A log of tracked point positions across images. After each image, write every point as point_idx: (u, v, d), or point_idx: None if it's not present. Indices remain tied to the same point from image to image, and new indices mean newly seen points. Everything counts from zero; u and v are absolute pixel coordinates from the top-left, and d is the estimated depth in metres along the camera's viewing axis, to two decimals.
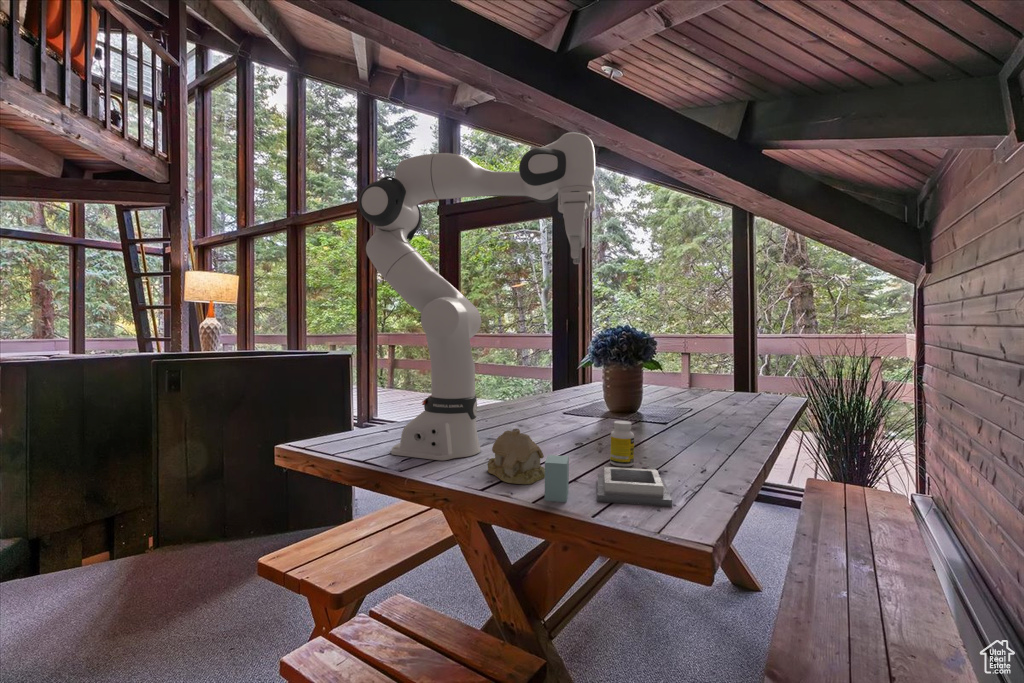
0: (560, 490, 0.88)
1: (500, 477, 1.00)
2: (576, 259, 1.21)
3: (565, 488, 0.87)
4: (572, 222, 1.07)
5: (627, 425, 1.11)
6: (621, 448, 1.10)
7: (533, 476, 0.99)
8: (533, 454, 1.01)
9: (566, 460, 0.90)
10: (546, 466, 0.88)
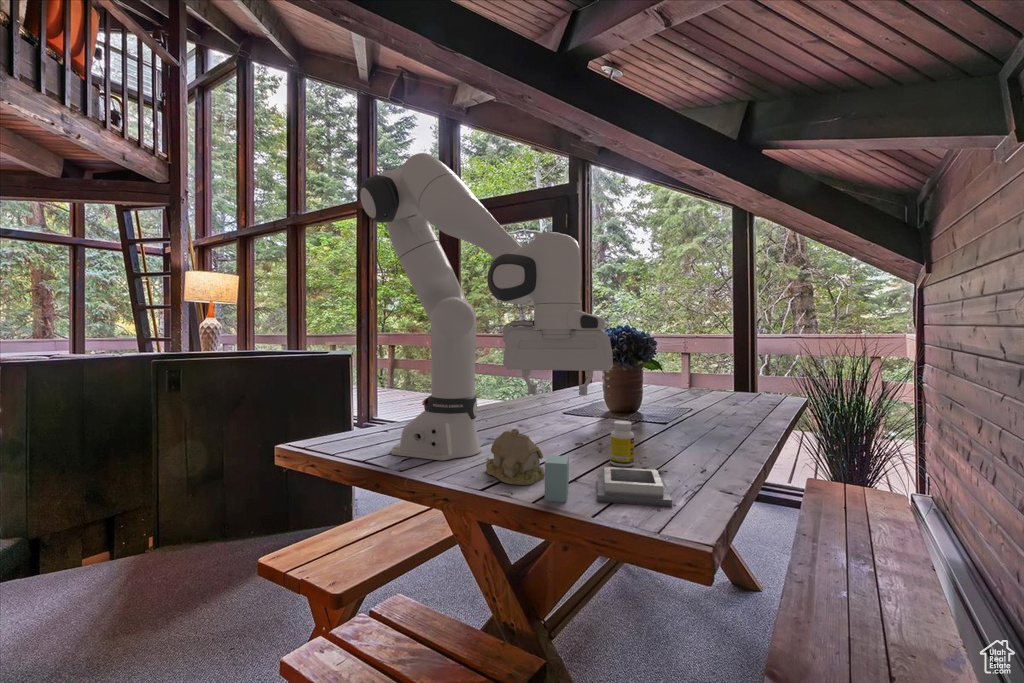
0: (560, 490, 0.88)
1: (499, 478, 0.99)
2: (536, 389, 0.91)
3: (565, 488, 0.87)
4: None
5: (627, 425, 1.11)
6: (621, 448, 1.10)
7: (533, 477, 0.98)
8: (532, 454, 1.01)
9: (566, 460, 0.90)
10: (546, 466, 0.88)
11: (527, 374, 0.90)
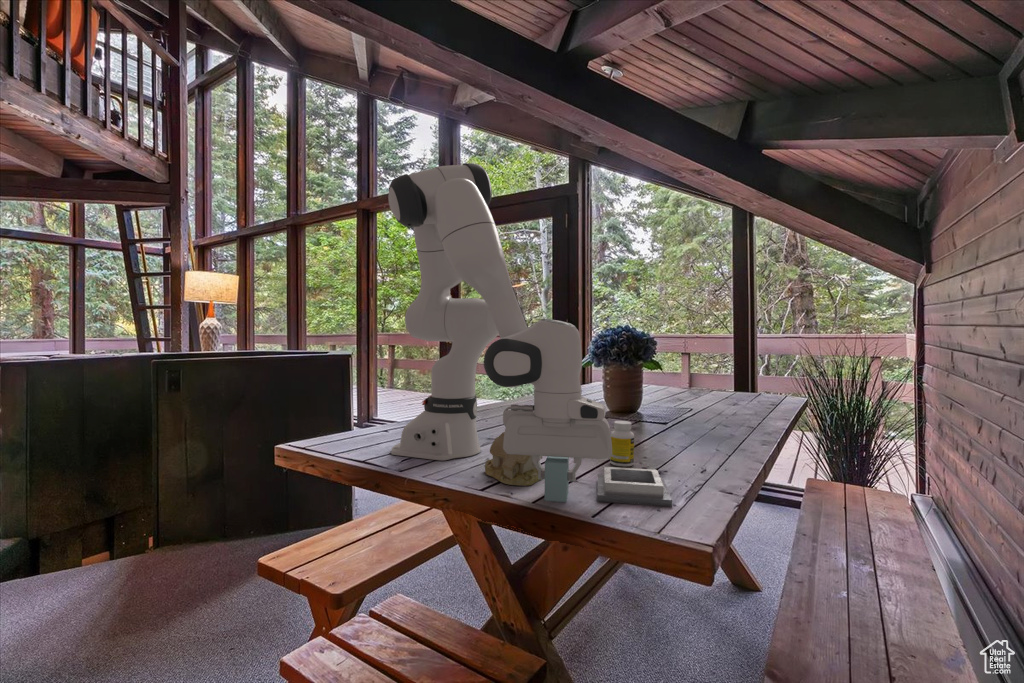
0: (560, 490, 0.88)
1: (499, 479, 0.99)
2: None
3: (565, 488, 0.87)
4: None
5: (627, 425, 1.11)
6: (621, 448, 1.10)
7: (533, 477, 0.98)
8: None
9: (566, 460, 0.90)
10: (546, 466, 0.88)
11: (537, 460, 0.90)
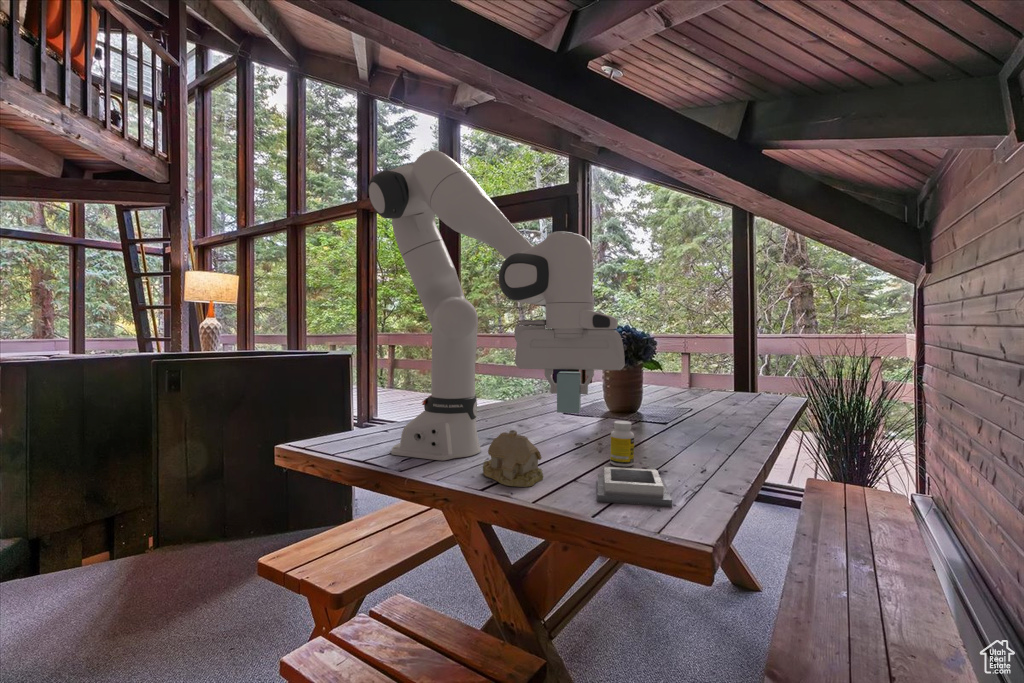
0: (572, 401, 0.87)
1: (499, 480, 0.98)
2: None
3: (577, 399, 0.87)
4: None
5: (627, 425, 1.11)
6: (621, 448, 1.10)
7: (533, 478, 0.97)
8: (532, 456, 1.00)
9: (578, 373, 0.89)
10: (558, 378, 0.88)
11: (549, 373, 0.90)
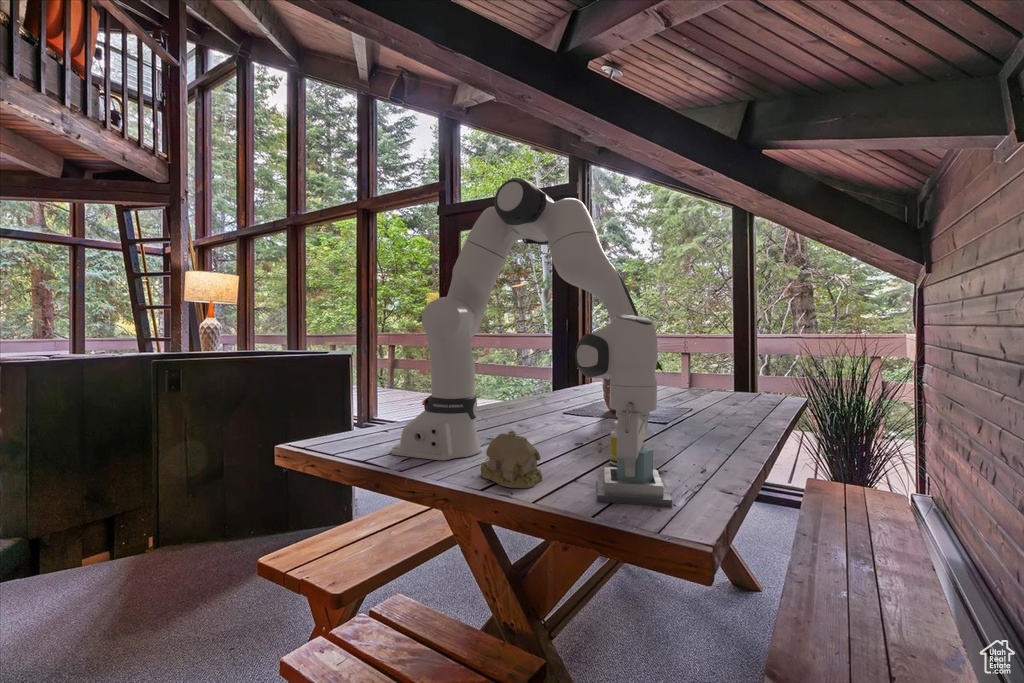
0: (650, 476, 0.91)
1: (499, 482, 0.97)
2: None
3: (652, 472, 0.92)
4: None
5: None
6: None
7: (533, 479, 0.97)
8: (531, 457, 0.99)
9: (641, 447, 0.93)
10: (644, 456, 0.89)
11: None
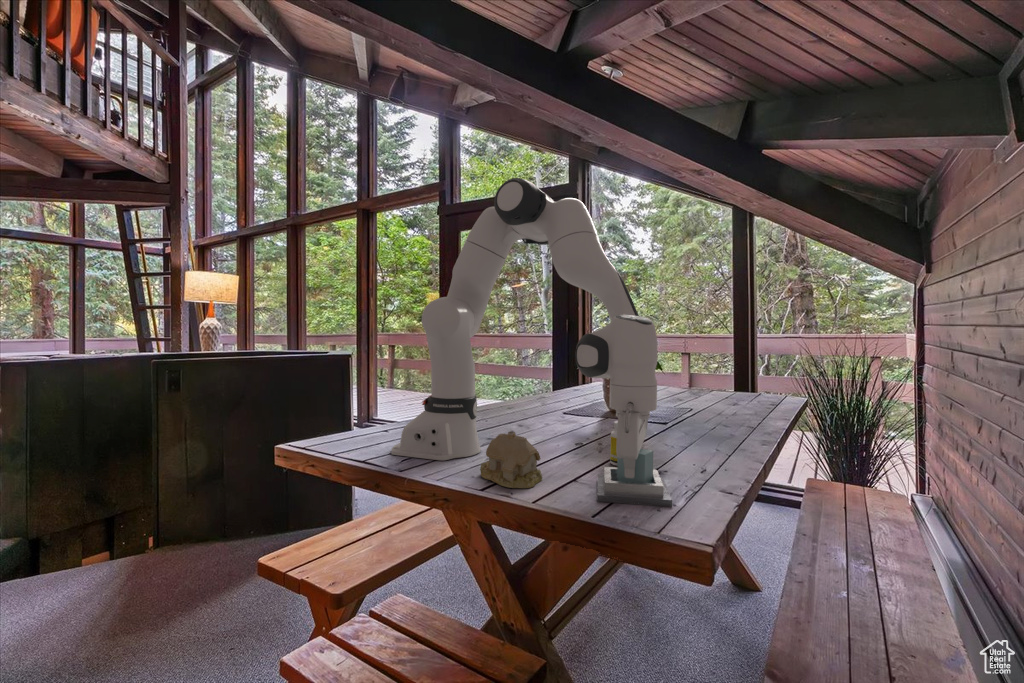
0: (650, 477, 0.91)
1: (499, 482, 0.96)
2: None
3: (652, 474, 0.92)
4: None
5: None
6: None
7: (533, 479, 0.96)
8: (531, 457, 0.99)
9: (641, 449, 0.93)
10: (645, 458, 0.89)
11: None
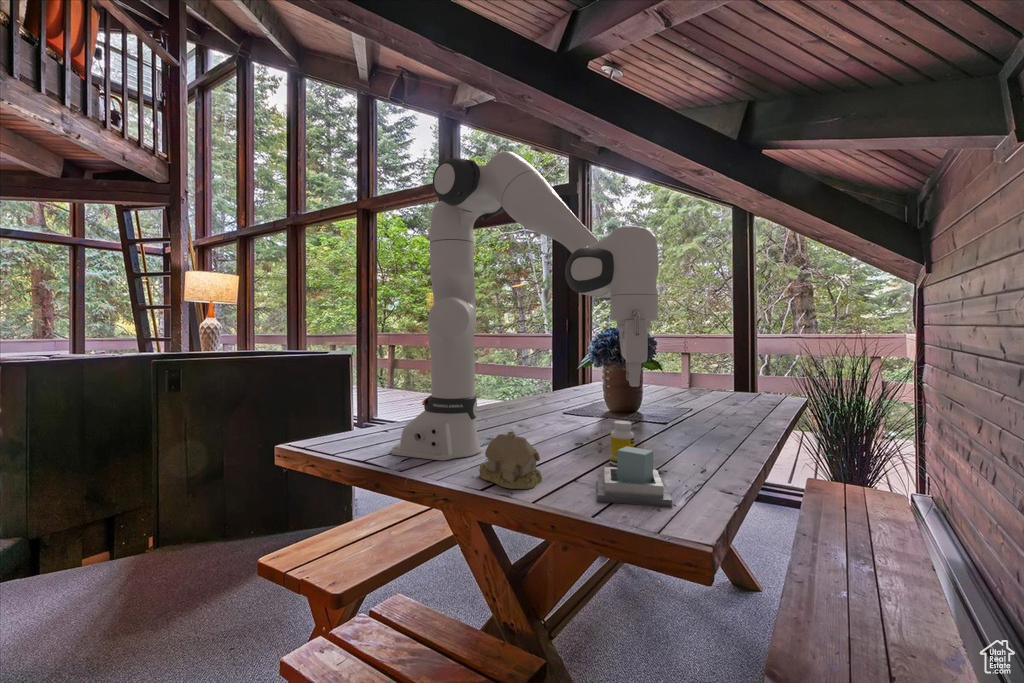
0: (650, 477, 0.91)
1: (499, 483, 0.96)
2: None
3: (652, 474, 0.92)
4: None
5: (627, 425, 1.11)
6: None
7: (533, 480, 0.96)
8: (531, 457, 0.98)
9: (641, 449, 0.93)
10: (645, 458, 0.89)
11: None
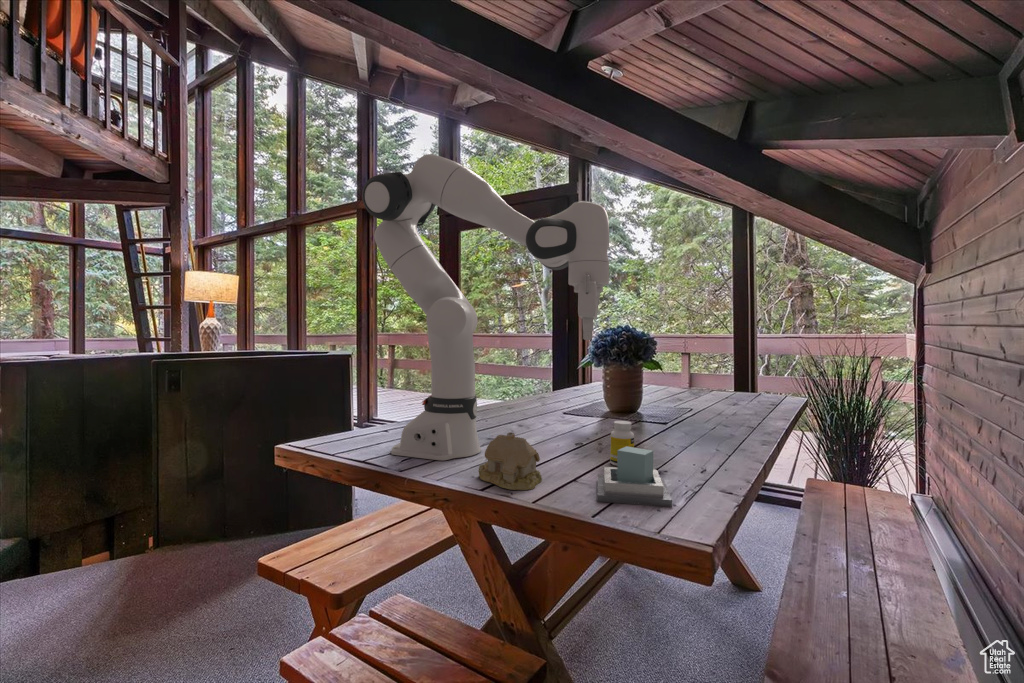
0: (650, 477, 0.91)
1: (499, 484, 0.95)
2: None
3: (652, 474, 0.92)
4: None
5: (627, 425, 1.11)
6: None
7: (533, 481, 0.96)
8: (531, 458, 0.98)
9: (641, 449, 0.93)
10: (645, 458, 0.89)
11: None
